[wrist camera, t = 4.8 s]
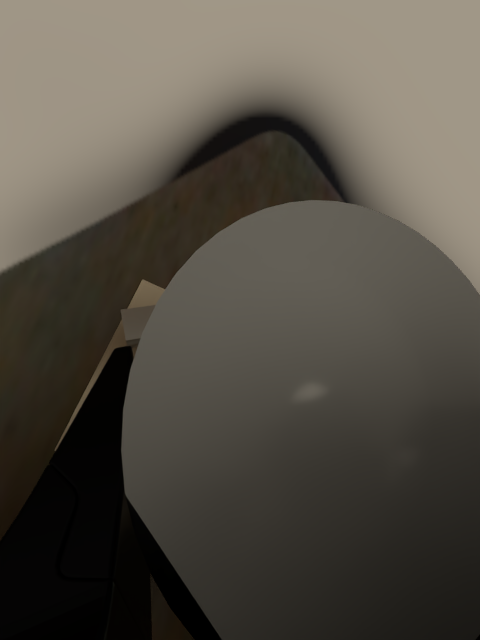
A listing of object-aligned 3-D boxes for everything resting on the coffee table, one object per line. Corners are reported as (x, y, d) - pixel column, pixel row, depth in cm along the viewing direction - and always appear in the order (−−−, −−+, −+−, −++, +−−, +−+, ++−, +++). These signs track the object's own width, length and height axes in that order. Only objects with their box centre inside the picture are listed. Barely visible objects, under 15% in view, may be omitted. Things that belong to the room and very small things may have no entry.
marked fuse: (238, 423, 14) (583, 561, 3) (148, 450, 13) (185, 877, 2) (220, 337, 15) (455, 196, 4) (132, 354, 13) (80, 206, 2)
